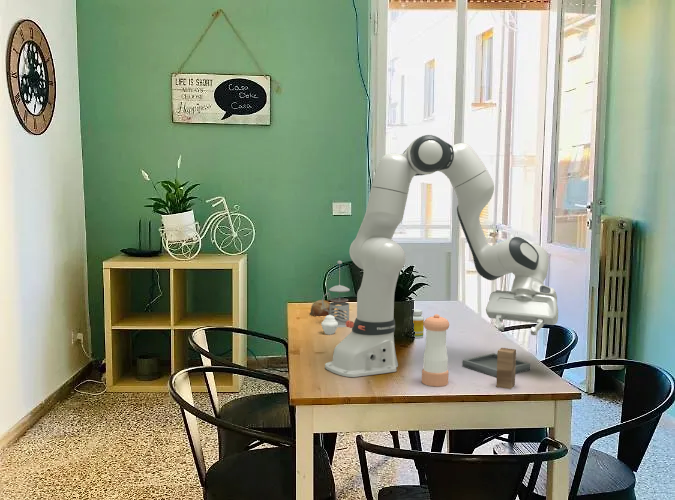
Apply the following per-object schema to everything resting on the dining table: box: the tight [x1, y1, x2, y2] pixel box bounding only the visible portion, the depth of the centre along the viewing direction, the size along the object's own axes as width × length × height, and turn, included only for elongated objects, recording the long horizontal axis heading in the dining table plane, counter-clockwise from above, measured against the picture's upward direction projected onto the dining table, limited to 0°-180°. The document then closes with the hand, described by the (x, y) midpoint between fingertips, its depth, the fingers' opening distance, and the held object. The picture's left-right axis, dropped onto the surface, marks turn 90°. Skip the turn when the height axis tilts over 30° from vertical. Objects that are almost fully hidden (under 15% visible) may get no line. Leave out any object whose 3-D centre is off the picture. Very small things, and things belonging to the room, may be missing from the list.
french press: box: [321, 260, 350, 328], centre depth 252 cm, size 10×12×25 cm
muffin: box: [320, 315, 338, 335], centre depth 238 cm, size 6×6×7 cm
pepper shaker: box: [421, 313, 450, 387], centre depth 180 cm, size 7×7×19 cm
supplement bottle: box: [413, 308, 425, 339], centre depth 234 cm, size 5×5×10 cm
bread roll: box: [309, 299, 331, 317], centre depth 272 cm, size 10×10×8 cm
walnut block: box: [496, 347, 517, 390], centre depth 178 cm, size 4×4×10 cm
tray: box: [461, 352, 531, 378], centre depth 196 cm, size 14×14×2 cm
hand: (516, 332), depth 186 cm, fingers open, 8 cm apart
